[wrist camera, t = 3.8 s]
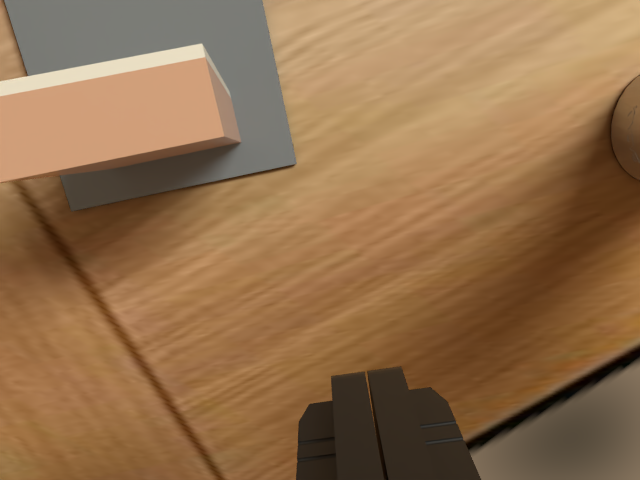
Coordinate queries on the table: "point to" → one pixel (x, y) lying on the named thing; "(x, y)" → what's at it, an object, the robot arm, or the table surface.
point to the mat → (153, 36)
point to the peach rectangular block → (114, 114)
